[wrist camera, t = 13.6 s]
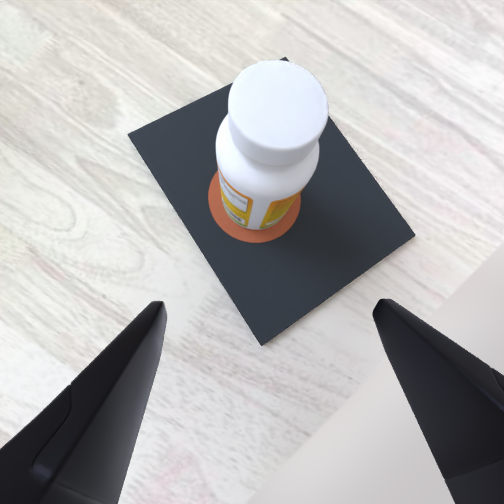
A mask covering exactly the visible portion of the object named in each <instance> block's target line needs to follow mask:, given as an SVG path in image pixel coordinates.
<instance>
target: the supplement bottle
mask: <svg viewBox="0 0 504 504" xmlns="http://www.w3.org/2000/svg"><path fill="white" fill-rule="evenodd" d="M328 114H329V105H328V99H327V96H326V93H325V91H324V89H323V87H322V85H321V84H320V82H319V81H318V80H317V79H316V78H315V76H313V75H312V74H311V73H310V72H309V71H307V70H306V69H304V68H302V67H300V66H299V65H296V64H294V63H291V62H287V61H282V60H267V61H262V62H258V63H255V64H253V65H251V66H249V67H248V68H246V69H245V70H243V71H242V72H241V73H240V74H239V75H238V77H237V78H236V79H235V81H234V83H233V85H232V87H231V90H230V93H229V99H228V114H227V116H226V117H225V118H224V120H223V121H222V123H221V125H220V128H219V130H218V133H217V138H216V158H217V165H218V173H219V181H220V188H221V196H222V202H223V206H224V208H225V211H226V213H227V214H228V216H229V217H230V218H231V219H232V220H233V221H234V222H235V223H236V224H238V225H240V226H242V227H244V228H247V229H252V230H260V229H265V228H268V227H271V226H273V225H274V224H276V223H277V222H278V221H279V220H280V219H281V218H282V217H283V216H284V215H285V213H286V212H287V211H288V209H289V208H290V206H291V205H292V203H293V202H294V201H295V199H296V198H297V197H298V195H299V194H300V193H301V191H302V190H303V188H304V187H305V186H306V184H307V183H308V181H309V180H310V178H311V177H312V175H313V173H314V171H315V169H316V166H317V163H318V158H319V143H318V139H319V137H320V135H321V134H322V132H323V130H324V128H325V126H326V123H327V119H328Z"/></svg>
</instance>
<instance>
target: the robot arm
mask: <svg viewBox="0 0 504 504" xmlns="http://www.w3.org/2000/svg"><path fill="white" fill-rule="evenodd" d="M373 318H374V321H375V324H376V327H377V330H378V333H379V336H380V338H381V341H382V344H383V347H384V350H385V352H386V354H387V357H388V359H389V361H390V363H391V365H392V367H393V370H394V372H395V374H396V376H397V378H398V380H399V382H400V385H401V387H402V389H403V391H404V393H405V396H406V398H407V400H408V402H409V404H410V406H411V409H412V411H413V413H414V415H415V417H416V419H417V422H418V424H419V426H420V428H421V430H422V432H423V435H424V437H425V439H426V441H427V443H428V445H429V447H430V450H431V452H432V454H433V456H434V458H435V461H436V463H437V465H438V467H439V469H440V471H441V473H442V476H443V478H444V479H445V483H446V485H447V487H448V489H449V491H450V493H451V496H452V498H453V500H454V502H455V504H504V375H502V374H501V373H499V372H498V371H496V370H495V369H493V368H490V366H489V365H487V364H486V363H484V362H483V361H481V360H480V359H479V358H477V357H476V356H474V355H473V354H471V353H469V352H468V351H467V350H465V349H464V348H462V347H461V346H459V345H458V344H457V343H455V342H454V341H452V340H451V339H449V338H448V337H446V336H445V335H443V334H442V333H440V332H439V331H437V330H436V329H434V328H433V327H432V326H430V325H429V324H427V323H426V322H424V321H423V320H421V319H420V318H418V317H417V316H415V315H414V314H412V313H411V312H409V311H408V310H407V309H405V308H404V307H402V306H401V305H399V304H398V303H396V302H395V301H393V300H392V299H380V300H379V301H378V303H377V305H376V306H375V308H374V310H373ZM166 322H167V312H166V309H165V305H164V302H163V301H153V302H151V303H150V304H149V305H148V306H147V307H146V308H145V309H144V310H143V311H142V312H141V313H140V314H139V315H138V316H137V317H136V318H135V319H134V320H133V321H132V322H131V323H130V324H129V325H128V326H127V327H126V328H125V329H124V330H123V331H122V332H121V333H120V334H119V335H118V336H117V337H116V338H115V339H114V340H113V341H112V342H111V343H110V344H109V345H108V346H107V347H106V348H105V349H104V350H103V351H102V352H101V353H100V354H99V355H98V356H97V357H96V358H95V359H94V360H93V361H92V362H91V363H90V364H89V365H88V366H87V367H86V368H85V369H84V370H83V371H82V372H81V373H80V374H79V375H78V376H77V377H76V378H75V379H74V380H73V381H72V382H71V385H68V386H67V387H66V388H65V389H64V390H63V391H62V392H61V393H60V394H59V395H58V396H57V397H56V398H55V399H54V400H53V401H52V402H51V403H50V404H49V405H48V406H47V407H46V408H45V409H44V410H43V411H42V412H41V413H40V414H38V415H37V416H36V417H35V418H34V419H33V420H32V421H31V422H30V423H29V424H28V425H26V426H25V427H24V428H23V429H22V430H21V431H20V432H19V433H18V434H17V435H15V436H14V437H13V438H12V439H11V440H10V441H9V442H8V443H6V444H5V445H4V446H3V447H2V448H1V449H0V504H118V501H119V497H120V494H121V490H122V487H123V484H124V480H125V477H126V473H127V470H128V467H129V463H130V460H131V456H132V453H133V449H134V446H135V443H136V439H137V436H138V432H139V429H140V426H141V422H142V419H143V415H144V412H145V409H146V405H147V402H148V398H149V395H150V391H151V388H152V385H153V381H154V378H155V374H156V371H157V368H158V364H159V360H160V356H161V351H162V345H163V340H164V334H165V328H166Z"/></svg>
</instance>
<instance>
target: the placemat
mask: <svg viewBox="0 0 504 504" xmlns="http://www.w3.org/2000/svg"><path fill="white" fill-rule="evenodd" d="M280 60H282V61H287V62H289V60H288V59H287V58H286V57H284V58H282V59H280ZM233 83H234V82H233ZM233 83H231V84H229V85H227V86H225V87H223V88H221V89H219V90H217V91H215V92H213V93H211V94H209V95H207V96H205V97H203V98H201V99H198V100H196V101H194V102H192V103H190V104H188V105H186V106H184V107H182V108H180V109H178V110H176V111H174V112H172V113H170V114H168V115H166V116H164V117H162V118H160V119H158V120H156V121H154V122H152V123H149V124H147V125H145V126H143V127H141V128H139V129H137V130H135V131H133V132H131V133H129V134H128V136H129V138H130V139H131V141H132V142H133V144H134V146H135V147H136V149H137V150H138V152H139V154H140V155H141V157H142V158H143V160H144V161H145V163H146V165H147V166H148V168H149V169H150V171H151V173H152V174H153V176H154V177H155V179H156V180H157V182H158V184H159V185H160V187H161V188H162V190H163V191H164V193H165V195H166V196H167V198H168V199H169V201H170V203H171V204H172V206H173V207H174V209H175V210H176V212H177V214H178V215H179V217H180V218H181V220H182V222H183V223H184V225H185V226H186V228H187V229H188V231H189V233H190V234H191V236H192V237H193V239H194V240H195V242H196V244H197V245H198V247H199V248H200V250H201V252H202V253H203V255H204V256H205V258H206V259H207V261H208V263H209V264H210V266H211V267H212V269H213V271H214V272H215V274H216V275H217V277H218V278H219V280H220V282H221V283H222V285H223V286H224V288H225V289H226V291H227V293H228V294H229V296H230V297H231V299H232V301H233V302H234V304H235V305H236V307H237V308H238V310H239V312H240V313H241V315H242V316H243V318H244V320H245V321H246V323H247V324H248V326H249V327H250V329H251V331H252V332H253V334H254V335H255V337H256V338H257V340H258V342H259V343H260V345H261V346H263V345H264V344H265V343H267V342H268V341H270V340H271V339H272V338H274V337H275V336H276V335H278V334H279V333H281V332H282V331H283V330H285V329H286V328H288V327H289V326H290V325H292V324H293V323H295V322H296V321H297V320H299V319H300V318H301V317H303V316H304V315H306V314H307V313H308V312H310V311H311V310H313V309H314V308H315V307H317V306H318V305H319V304H321V303H322V302H324V301H325V300H326V299H328V298H329V297H331V296H332V295H333V294H335V293H336V292H338V291H339V290H340V289H342V288H343V287H344V286H346V285H347V284H349V283H350V282H351V281H353V280H354V279H356V278H357V277H358V276H360V275H361V274H363V273H364V272H365V271H367V270H368V269H369V268H371V267H372V266H374V265H375V264H376V263H378V262H379V261H381V260H382V259H383V258H385V257H386V256H388V255H389V254H390V253H392V252H393V251H394V250H396V249H397V248H399V247H400V246H401V245H403V244H404V243H406V242H407V241H408V240H410V239H411V238H413V237H414V236H415V233H414V232H413V231H412V229H411V228H410V227H409V225H408V224H407V222H406V221H405V220H404V218H403V217H402V216H401V214H400V213H399V212H398V210H397V209H396V207H395V206H394V205H393V203H392V202H391V201H390V199H389V198H388V196H387V195H386V194H385V192H384V191H383V190H382V188H381V187H380V185H379V184H378V183H377V181H376V180H375V179H374V177H373V176H372V174H371V173H370V172H369V170H368V169H367V168H366V166H365V165H364V163H363V162H362V161H361V159H360V158H359V157H358V155H357V154H356V152H355V151H354V150H353V148H352V147H351V146H350V144H349V143H348V141H347V140H346V139H345V137H344V136H343V135H342V133H341V132H340V131H339V129H338V128H337V126H336V125H335V124H334V122H333V121H332V120H331V118H330V117H329V115H328V119H327V123H326V126H325V128H324V130H323V132H322V134H321V135H320V137H319V139H318V143H319V158H318V163H317V166H316V169H315V171H314V173H313V175H312V177H311V178H310V180H309V181H308V183H307V184H306V186H305V187H304V188H303V190H302V191H301V193H300V194H299V195H298V197H297V198H296V199H295V201H294V202H293V203H292V205H291V206H290V208H289V209H288V211H287V212H286V213H285V215H284V216H283V217H282V218H281V219H280V220H279V221H278V222H277V223H276V224H274V225H273V226H271V227H268V228H265V229H260V230H252V229H247V228H244V227H242V226H240V225H238V224H236V223H235V222H234V221H233V220H232V219H231V218H230V217H229V216H228V214H227V213H226V211H225V208H224V206H223V202H222V196H221V188H220V181H219V173H218V165H217V158H216V138H217V133H218V130H219V128H220V125H221V123H222V121H223V120H224V118H225V117H226V116H227V114H228V99H229V93H230V90H231V87H232V85H233Z"/></svg>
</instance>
